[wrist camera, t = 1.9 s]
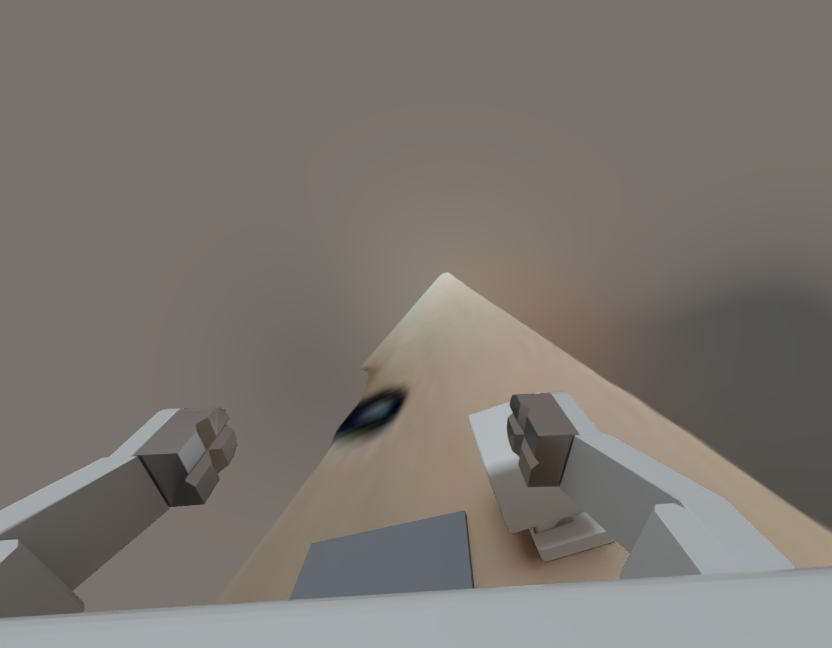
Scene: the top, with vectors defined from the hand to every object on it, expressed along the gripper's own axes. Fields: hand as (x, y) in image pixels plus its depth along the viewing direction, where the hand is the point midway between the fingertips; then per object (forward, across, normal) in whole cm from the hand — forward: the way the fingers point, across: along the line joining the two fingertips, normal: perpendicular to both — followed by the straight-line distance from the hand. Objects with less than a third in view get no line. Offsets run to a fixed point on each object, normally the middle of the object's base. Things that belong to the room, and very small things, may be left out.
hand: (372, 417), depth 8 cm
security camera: (+8, +12, -19) cm, 24 cm away
